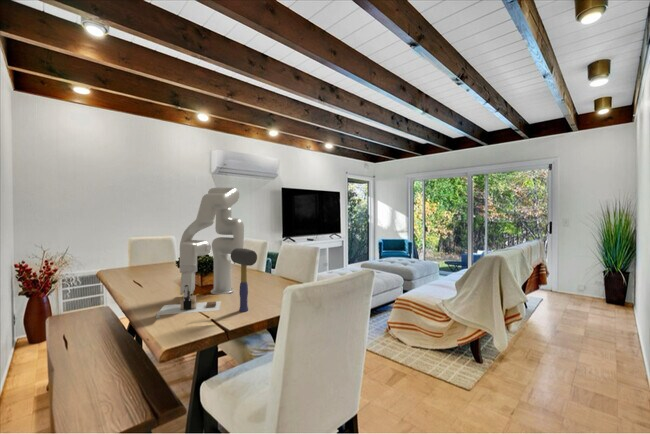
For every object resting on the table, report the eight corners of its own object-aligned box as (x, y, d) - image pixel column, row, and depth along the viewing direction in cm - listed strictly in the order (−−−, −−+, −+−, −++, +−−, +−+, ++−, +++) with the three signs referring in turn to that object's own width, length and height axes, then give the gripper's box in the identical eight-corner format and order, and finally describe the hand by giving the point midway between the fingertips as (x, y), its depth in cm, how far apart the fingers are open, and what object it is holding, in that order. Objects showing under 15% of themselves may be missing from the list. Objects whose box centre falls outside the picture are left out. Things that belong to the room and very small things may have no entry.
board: (164, 308, 145) (164, 305, 145) (221, 304, 152) (221, 301, 152) (156, 318, 132) (156, 315, 132) (218, 313, 138) (218, 310, 138)
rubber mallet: (258, 314, 137) (258, 249, 136) (244, 319, 131) (244, 250, 131) (243, 308, 145) (243, 246, 144) (229, 312, 140) (229, 248, 139)
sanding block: (182, 306, 143) (182, 296, 143) (196, 305, 144) (196, 295, 144) (180, 310, 138) (180, 299, 138) (194, 309, 140) (194, 298, 140)
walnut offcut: (207, 305, 145) (207, 302, 145) (216, 304, 146) (216, 301, 146) (206, 307, 142) (206, 304, 142) (215, 307, 143) (215, 304, 143)
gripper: (183, 265, 148) (183, 302, 149) (175, 272, 132) (175, 313, 132) (200, 265, 150) (200, 301, 150) (194, 271, 134) (194, 312, 134)
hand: (188, 306), depth 141 cm, fingers closed on sanding block, 5 cm apart
